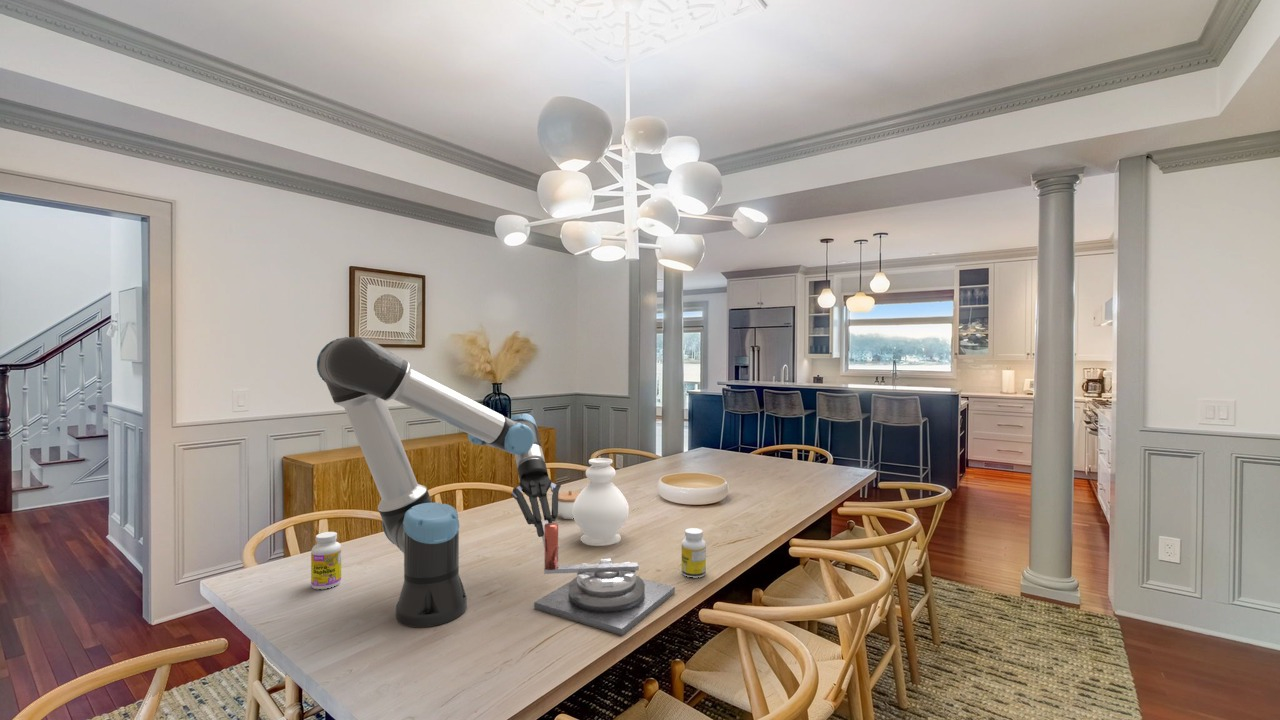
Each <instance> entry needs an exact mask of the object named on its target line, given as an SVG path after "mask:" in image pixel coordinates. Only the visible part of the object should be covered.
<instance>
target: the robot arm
mask: <svg viewBox="0 0 1280 720" xmlns="http://www.w3.org/2000/svg"><path fill="white" fill-rule="evenodd" d="M316 370H317V373H318V375H319V377H320V378H321V380H322V381H324V383H325V384H326V386H327V389H328V391H329V394H330V396H331V399H332V400H333V403H334V405H337V406H340V407H343V408H344V410H345V412H346V415H347V417H348V420H349V423H350V425H351V428H352V430H353V433H354V434H355V437H356V439H357V442H358V445H359V447H360V449H361V452H362V454H363V456H364V460H365V462H366V465H367V467H368V469H369V471H370V474H371V476H372V479H373V481H374V483H375V486H376V489H377V491H378V493H379V497H380V498H381V499H380V501H379V503H378V505H377V511H378V512H379V516H380V517H381V520H382V523H381V524H382V530H383V533H384V535H385V537H386V539H387V540H388V541H389V542H390V543H392V544H393V545H395V546H396V547H397V548H398V549H399V550H400V551H401V552H402V553H403V573H404V574H403V577H404V578H403V583H402V584H403V585H402V587H401V592H400V593H399V599H398V601H397V604H396V606H395V620H396V621H397V622H398V624H400V625H403V626H406V627H411V628H425V627H426V628H427V627H428V628H429V627H434V626H438V625H442V624H446V623H449V622H451V621H453V620H456V619H458V618H459V617H460V616H462V615H463V614H464V613H465V612H466V610H467V608H468V603H467V602H468V601H467V600H468V599H467V598H468V597H467V593H466V592H465V588H464V585H463V583H462V580H461V577H460V574H459V573H460V572H459V569H460V568H459V567H460V566H459V565H460V564H459V563H460V562H459V561H460V557H459V555H460V551H459V550H460V547H459V545H460V544H459V542H460V541H459V539H460V537H459V536H460V533H459V532H460V531H459V529H460V520H459V514H458V513H459V512H458V511H457V510H456V508H455V507H454V506H453V505H450V504H447V503H441V502H433V501H432V499H431V496H430V494H429V491H428V488H427V486H425V485H423V484H419V483H418V481H417V478H416V476H415V473H414V471H413V467H412V465H411V463H410V460H409V458H408V455H407V453H406V450H405V448H404V445H403V443H402V439H401V437H400V434H399V432H398V430H397V427H396V424H395V422H394V420H393V417H392V414H391V412H390V409H389V406H388V404H387V401H390V400H394V401H397V402H399V403H400V404H403V405H405V406H407V407H410V408H412V409H413V410H417V411H418V412H421V413H423V414H424V415H427V416H429V417H431V418H433V419H436V420H437V421H441V422H442V423H445V424H446V425H449V426H451V427H453V428H455V429H457V430H459V431H461V432H463V433H467V438H468V440H469V442H470V443H471V444H473V445H479V446H487V447H491V448H494V449H498V450H501V451H504V452H507V453H509V454H511V455H514V458H515V464H516V468H517V475H518V480H519V484H518V485H517V487H513V489H512V491H511V496H512V498H513V499H514V500H515V501H516V502H517V504H518V507H519V508H520V510H521V512H522V514H523V517H524V519H525V521H526V523H527V525H533V526H534V527H535V530H536V534H537V537H538V538H542V539H541V540H542V544H543V545H544V525H545V524H548V523H554V522H556V520H557V518H558V516H559V514H558V494H559V493H560V492H559V491H560V488H561V487H562V486H561V483H559V482H557V483H554V482H552V479H551V478H550V477H549V472H548V468H547V464H546V461H545V460H546V459H545V456H544V451H543V449H542V444H541V443H542V442H541V438H540V433H539V428H538V425H537V422H536V420H535V418H534V417H533V415H531V414H529V413H522V414H519V413H518V414H515V415H514V416H512V417H511V418H509V417H507V416H505V415H503V414H501V413H499V412H497V411H495V410H494V409H491V408H490V407H487V406H485V405H483V404H481V403H479V402H477V401H475V400H473V399H471V398H469V397H468V396H466V395H464V394H462V393H460V392H459V391H455V390H454V389H452V388H450V387H448V386H446V385H444V384H442V383H441V382H438V381H436V380H434V379H432V378H430V377H428V376H427V375H424V374H422V373H420V372H419V371H416V370H415V369H412V368H411V365H410V362H409V361H407V360H405V359H403V358H401V357H399V356H398V355H396V354H394V353H392V352H391V351H389V350H388V349H386V348H385V347H383V346H381V345H380V344H378V343H377V342H375V341H373V340H372V339H368V338H366V337H361V336H351V337H350V336H347V337H346V336H345V337H341V338H336V339H334V340H331V341H330V342H328V343H327V344H326V345H325V346H323V348H322V349H321V350H320V352H319V354H318V356H317V360H316ZM549 489H550V492H551V493H552V494H551V509H550V504H549V500H548V495H547V494H548V491H549ZM525 495H526V496H527V497H528V500H529V503H530V506H529V504H528V502H527V500H526V498H525ZM538 500H539V501H538ZM539 502H540V504H539ZM540 506H541V507H540ZM540 508H541V510H540ZM541 511H542V515H543V520H542V515H541Z"/></svg>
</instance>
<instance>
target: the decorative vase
mask: <svg viewBox="0 0 1280 720" xmlns="http://www.w3.org/2000/svg"><path fill="white" fill-rule="evenodd" d="M588 464H589V465H590V466H588V468H587V469H586V470H585V477H586V478H587V479H588V480H589V481H590V482H589V483H588V484H587V485H586V486H585V487H584V488H583V489H582V490H581V491H579V492H580V494H579V495H578V497H577V498H576V500H575V502H574V504H573V508H572V515H573V518H574V519H573V520H574V522H575V523H576V525H577V526H578V527H579V529H581V531H582V532H583V533H584V534H582V535H581V537H580V542H581V541H582V542H581V543H583V544H584V545H587V546H592V547H606V546H607V547H608V546H612V545H615V544H617V543H619V542H620V541H621V540H622V539H621V535H620V534H619V533H618V531H619V530H621V528H622V526H623V525H624V524H625V523H626V521H627V519H628V517H629V514H630V510H629V509H630V507H629V503H628V500H627V499H626V496H625V495H624V494H623V493H622V492H621V490H620V489H619V488H618V487H617V486H616V485H615V484H614V483H613V482H612V480H613V479H614V478H615V477H616V474H617V473H616V469H615V468H614V467H613V466H611V465H612V464H613V459H612V458H608V457H595V458H594V457H593V458H590V459H589V460H588Z"/></svg>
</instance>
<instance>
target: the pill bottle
mask: <svg viewBox="0 0 1280 720" xmlns="http://www.w3.org/2000/svg"><path fill="white" fill-rule="evenodd" d="M703 533H704V531H703V529H701V528H697V527H690V528H686V529H684V537H685V538H683V540H682V541H681V574H682V575H683V576H685V577H686V576H687V577H686V578H689V577H693V578H692V579H699V578H701V577H704V576H705V575H706V572H707V571H706V569H707V568H706V567H707V566H706V565H707V543H706V541H705V540H704V539H703V535H704V534H703ZM698 577H699V578H698Z"/></svg>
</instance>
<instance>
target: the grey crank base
mask: <svg viewBox="0 0 1280 720" xmlns="http://www.w3.org/2000/svg"><path fill="white" fill-rule="evenodd" d="M675 588H676V587H675V586H672V585H668V584H666V583H665V584H664V583H660V582H656V581H651V580H647V579H644V578H641V577H639V576H638V575H636V586H635V588H634V589H633V590H632V591H630V592H628V593H625V594H622V595H618V596H612V597H598V596H592V595H588V594H585V593H583V592H581V591H580V590H579V589H578V587H577V576H576V577H574V578H573V579H572V580H571V581H569V582H567V583H565V584H564V585H561V586H560V587H558V588H556V589H554V590H553V591H551V592H549V593H548V594H546V595H544V596H542V597H541V598H539V599H537V600H536V601H534V603H533V604H534V605H533V609H535V610H538V611H541V612H543V613H547V614H550V615H554V616H557V617H560V618H563V619H567V620H569V621H573V622H576V623H579V624H582V625H586V626H589V627H592V628H594V629H595V628H596V629H598V630H601V631H604V632H605V631H606V632H609V633H611V634H615V635H618V636H621V637H623V636H624V635H625V634H626V633H627V632H629V631H631V629H632V628H634V627H635V626H636V625H638V623H640V622H641V621H642V620H644V619H645V618H646V617H647V616H648V615H650V614H651V613H652V612H653V611H655V610H656V609H657V608H658V607H659V606H661V605H663V603H664V602H666V601H667V600H668V599H670V598H671V597H672V596H673V595H674V594H675V593H676V590H675ZM673 593H674V594H673ZM671 595H672V596H671ZM666 599H667V600H666ZM665 600H666V601H665ZM660 604H661V605H660Z"/></svg>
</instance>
